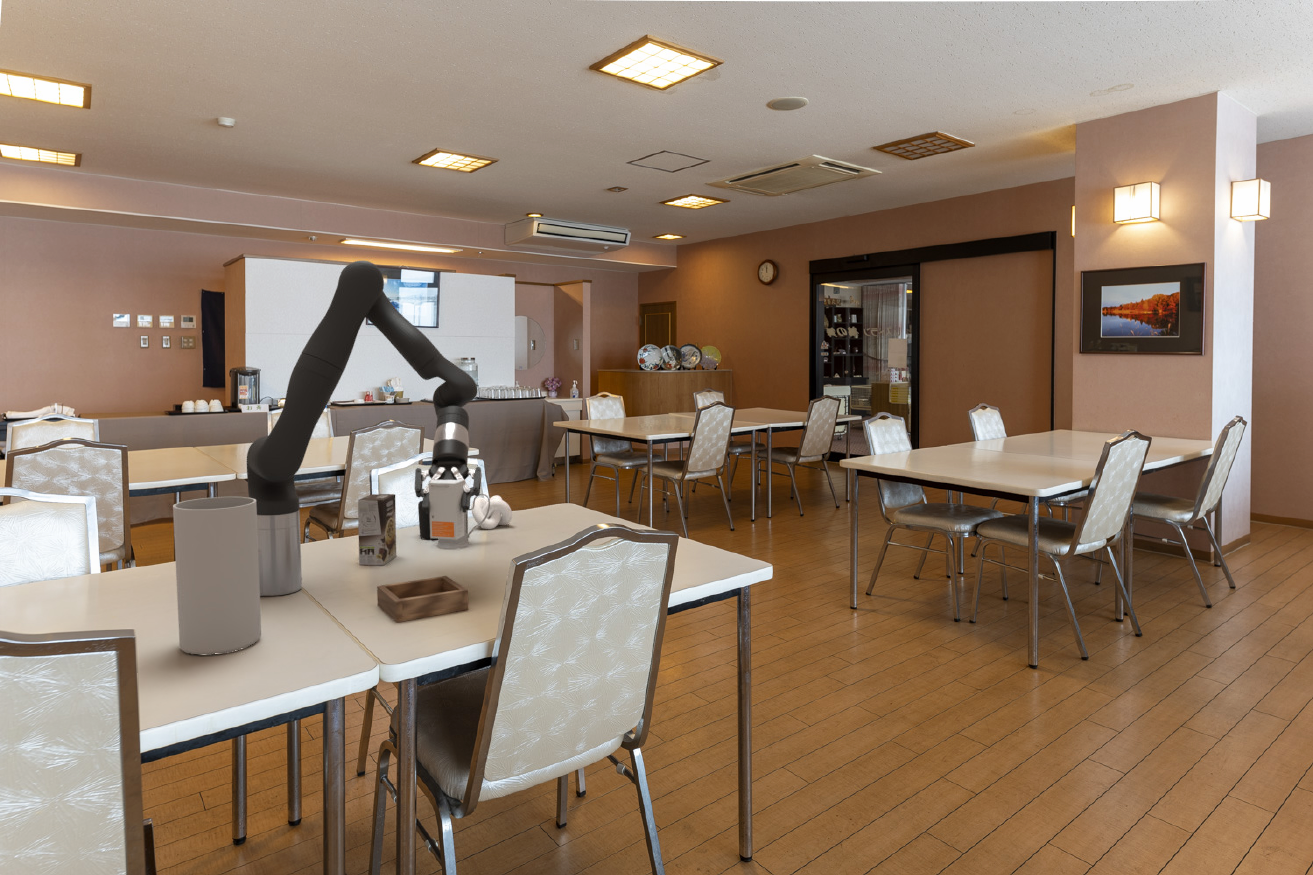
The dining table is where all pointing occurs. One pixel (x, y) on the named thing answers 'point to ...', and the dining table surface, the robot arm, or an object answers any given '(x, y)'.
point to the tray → (422, 598)
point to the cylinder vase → (217, 574)
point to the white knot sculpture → (491, 512)
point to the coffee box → (377, 529)
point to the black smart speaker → (424, 523)
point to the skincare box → (446, 509)
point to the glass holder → (463, 540)
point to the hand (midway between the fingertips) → (445, 510)
